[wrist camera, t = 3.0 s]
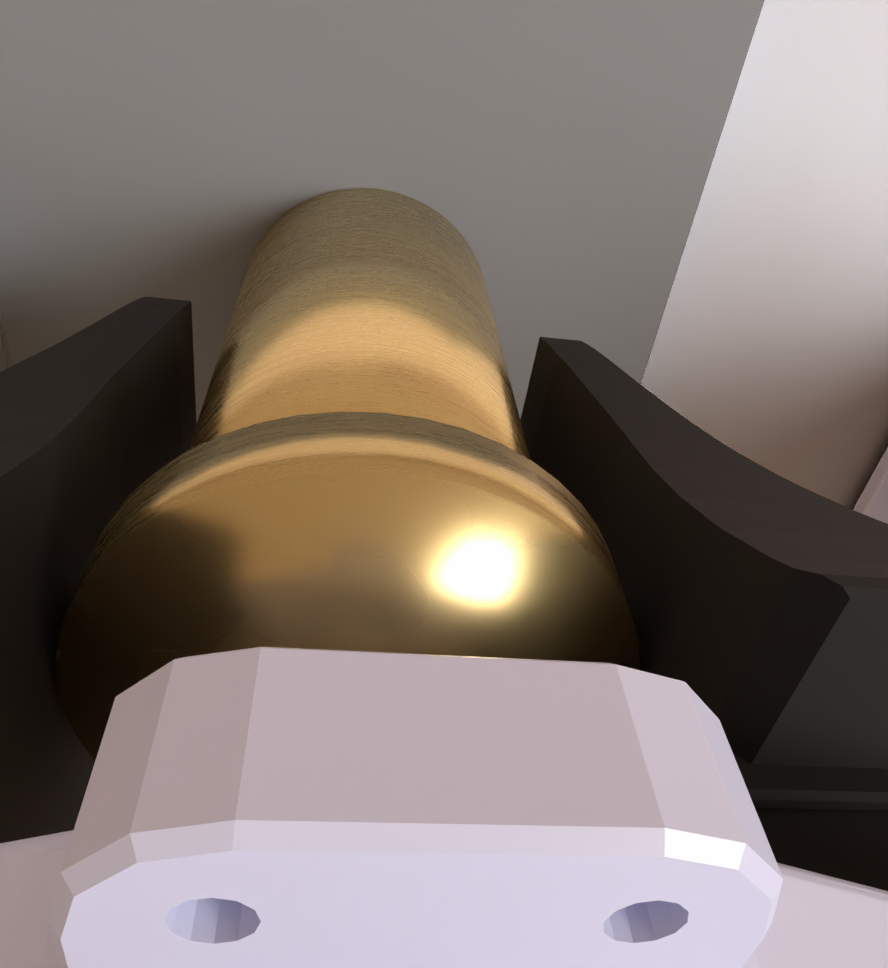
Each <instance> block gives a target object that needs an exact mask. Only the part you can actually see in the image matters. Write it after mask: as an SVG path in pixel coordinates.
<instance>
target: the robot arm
mask: <svg viewBox="0 0 888 968" xmlns="http://www.w3.org/2000/svg"><path fill="white" fill-rule="evenodd" d="M520 421H521V425H522V429H523V432H524V436H525V440H526V444H527V448H528V452H529V456H530V459H531V460H532V461H533V462H535V463H536V464H537V465H539V466H540V467H541V468H543V469H544V470H545V471H547V472H548V473H549V474H551V475H552V476H553V477H555V478H556V479H557V480H559V481H560V482H561V483H562V484H563V485H564V486H565V487H566V488H567V489H568V490H569V491H570V492H571V493H572V494H573V495H574V496H575V497H576V498H577V499H578V500H579V501H580V502H581V504H582V505H583V506H584V508H585V509H586V511H587V512H588V513H589V515H590V516H591V517H592V519H593V520H594V522H595V523H596V524H597V526H598V528H599V530H600V532H601V534H602V536H603V538H604V540H605V542H606V544H607V546H608V548H609V550H610V553H611V556H612V559H613V562H614V565H615V568H616V571H617V574H618V577H619V580H620V583H621V586H622V589H623V591H624V594H625V597H626V600H627V603H628V606H629V609H630V612H631V615H632V619H633V622H634V626H635V630H636V634H637V637H638V643H639V658H640V668H639V670H636V669H632V668H628V667H624V666H620V665H616V664H612V663H602V662H581V661H560V660H538V659H517V658H495V657H474V656H453V655H431V654H410V653H388V652H367V651H346V650H324V649H303V648H281V647H255V648H248V649H240V650H233V651H225V652H218V653H210V654H203V655H195V656H187V657H183V658H178V659H174V660H172V661H171V662H169V663H168V664H166V665H165V666H163V667H161V668H160V669H158V670H157V671H155V672H154V673H152V674H150V675H149V676H147V677H146V678H144V679H143V680H141V681H139V682H138V683H136V684H135V685H133V686H132V687H130V688H129V689H127V690H125V691H124V692H122V693H121V694H119V695H118V696H116V697H115V700H114V703H113V706H112V710H111V713H110V716H109V719H108V722H107V725H106V729H105V732H104V735H103V738H102V741H101V745H100V748H99V751H98V754H97V757H96V760H94V759H93V758H92V757H91V755H90V754H89V753H88V751H87V750H86V749H85V747H84V746H83V745H82V743H81V742H80V741H79V740H78V738H77V736H76V734H75V732H74V730H73V729H72V727H71V725H70V723H69V721H68V719H67V717H66V715H65V712H64V709H63V706H62V702H61V699H60V696H59V693H58V687H57V677H56V667H55V663H56V654H57V645H58V637H59V634H60V631H61V628H62V625H63V622H64V619H65V616H66V613H67V610H68V608H69V606H70V603H71V601H72V598H73V596H74V594H75V591H76V589H77V586H78V584H79V582H80V579H81V577H82V574H83V572H84V570H85V567H86V565H87V562H88V560H89V558H90V555H91V553H92V550H93V548H94V545H95V543H96V541H97V540H98V538H99V536H100V534H101V532H102V531H103V529H104V527H105V525H106V524H107V522H108V520H109V518H110V517H111V516H112V515H113V513H114V512H115V511H116V510H117V508H118V507H119V506H120V505H121V504H122V502H123V501H124V500H125V499H126V498H127V496H128V495H129V494H130V493H131V492H132V491H133V490H134V489H136V488H137V487H138V486H139V485H140V484H141V483H142V482H144V481H145V480H146V479H147V478H148V477H149V476H150V475H152V474H153V473H154V472H155V471H156V470H158V469H159V468H161V467H163V466H164V465H166V464H167V463H169V462H170V461H172V460H173V459H175V458H177V457H178V456H180V455H181V454H183V453H184V452H186V451H188V449H189V446H190V443H191V440H192V437H193V434H194V431H195V428H196V401H195V377H194V352H193V328H192V304H191V301H185V300H175V299H165V298H155V297H142V298H139V299H137V300H135V301H133V302H131V303H129V304H127V305H125V306H123V307H121V308H120V309H118V310H116V311H114V312H113V313H111V314H109V315H107V316H106V317H104V318H102V319H100V320H99V321H97V322H95V323H93V324H92V325H90V326H88V327H86V328H84V329H83V330H81V331H79V332H77V333H75V334H74V335H72V336H70V337H68V338H66V339H65V340H63V341H61V342H59V343H57V344H56V345H54V346H52V347H50V348H47V349H45V350H43V351H41V352H39V353H37V354H35V355H33V356H31V357H29V358H27V359H25V360H23V361H21V362H19V363H17V364H15V365H13V366H11V367H9V368H7V369H5V370H3V371H0V968H888V447H887V449H886V451H885V453H884V454H883V456H882V458H881V460H880V462H879V463H878V465H877V467H876V469H875V471H874V472H873V474H872V476H871V478H870V480H869V481H868V483H867V485H866V487H865V489H864V490H863V492H862V494H861V496H860V498H859V499H858V501H857V503H856V505H855V507H854V509H853V510H852V509H849V508H847V507H844V506H842V505H840V504H838V503H835V502H833V501H831V500H829V499H827V498H824V497H822V496H820V495H818V494H816V493H814V492H811V491H809V490H807V489H805V488H803V487H800V486H798V485H796V484H794V483H792V482H790V481H788V480H786V479H784V478H782V477H780V476H778V475H776V474H775V473H773V472H771V471H769V470H767V469H766V468H764V467H762V466H760V465H759V464H757V463H755V462H753V461H751V460H750V459H748V458H746V457H744V456H743V455H741V454H739V453H737V452H736V451H734V450H732V449H731V448H729V447H727V446H726V445H724V444H723V443H721V442H719V441H718V440H716V439H715V438H713V437H712V436H710V435H709V434H707V433H706V432H704V431H703V430H702V429H700V428H699V427H697V426H696V425H694V424H693V423H691V422H690V421H688V420H687V419H685V418H684V417H683V416H681V415H680V414H679V413H677V412H676V411H674V410H673V409H672V408H670V407H669V406H668V405H666V404H665V403H664V402H662V401H661V400H660V399H658V398H657V397H656V396H655V395H653V394H652V393H651V392H649V391H648V390H647V389H646V388H644V387H643V386H642V385H640V384H639V383H638V382H637V381H635V380H634V379H633V378H632V377H630V376H629V375H628V374H627V373H625V372H624V371H623V370H622V369H620V368H619V367H618V366H617V365H615V364H614V363H613V362H611V361H610V360H609V359H608V358H606V357H605V356H604V355H602V354H601V353H600V352H598V351H597V350H595V349H594V348H592V347H591V346H589V345H588V344H586V343H584V342H583V341H578V340H568V339H558V338H549V337H540V338H539V342H538V346H537V350H536V355H535V359H534V363H533V368H532V372H531V376H530V381H529V385H528V389H527V394H526V398H525V402H524V407H523V411H522V415H521V419H520Z"/></svg>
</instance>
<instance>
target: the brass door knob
mask: <svg viewBox="0 0 888 968" xmlns="http://www.w3.org/2000/svg"><path fill="white" fill-rule="evenodd" d="M255 647H281V648H303V649H324V650H346V651H367V652H388V653H410V654H431V655H453V656H474V657H495V658H517V659H538V660H560V661H581V662H602V663H612V664H616V665H620V666H624V667H628V668H632V669H636V670H639V668H640V658H639V643H638V637H637V634H636V630H635V626H634V622H633V619H632V615H631V612H630V609H629V606H628V603H627V600H626V597H625V594H624V591H623V589H622V586H621V583H620V580H619V577H618V574H617V571H616V568H615V565H614V562H613V559H612V556H611V553H610V550H609V548H608V546H607V544H606V542H605V540H604V538H603V536H602V534H601V532H600V530H599V528H598V526H597V524H596V523H595V522H594V520H593V519H592V517H591V516H590V515H589V513H588V512H587V511H586V509H585V508H584V506H583V505H582V504H581V502H580V501H579V500H578V499H577V498H576V497H575V496H574V495H573V494H572V493H571V492H570V491H569V490H568V489H567V488H566V487H565V486H564V485H563V484H562V483H561V482H560V481H559V480H557V479H556V478H555V477H553V476H552V475H551V474H549V473H548V472H547V471H545V470H544V469H543V468H541V467H540V466H539V465H537V464H536V463H535V462H533V461H532V460H531V459H530V456H529V452H528V448H527V444H526V440H525V436H524V432H523V429H522V425H521V421H520V417H519V413H518V409H517V405H516V401H515V398H514V394H513V390H512V386H511V382H510V378H509V374H508V370H507V367H506V363H505V359H504V355H503V351H502V347H501V343H500V339H499V336H498V332H497V328H496V324H495V320H494V316H493V312H492V308H491V305H490V301H489V297H488V293H487V289H486V285H485V281H484V278H483V275H482V271H481V268H480V265H479V263H478V261H477V258H476V256H475V254H474V252H473V250H472V249H471V247H470V246H469V244H468V243H467V241H466V240H465V238H464V237H463V235H462V234H461V233H460V232H459V231H458V230H457V229H456V228H455V226H454V225H453V224H452V223H450V222H449V221H448V220H447V219H446V218H445V217H444V216H442V215H441V214H440V213H438V212H437V211H435V210H434V209H432V208H431V207H429V206H428V205H426V204H424V203H422V202H420V201H418V200H416V199H414V198H412V197H409V196H406V195H403V194H400V193H397V192H393V191H388V190H383V189H377V188H347V189H340V190H335V191H330V192H326V193H323V194H320V195H318V196H315V197H312V198H310V199H308V200H306V201H304V202H302V203H300V204H298V205H296V206H295V207H293V208H292V209H290V210H289V211H288V212H286V213H285V214H283V215H282V216H281V217H280V218H279V219H278V220H277V221H276V222H275V223H274V224H273V225H272V226H271V227H270V228H269V229H268V230H267V232H266V233H265V234H264V236H263V237H262V238H261V239H260V241H259V243H258V245H257V246H256V248H255V250H254V252H253V254H252V256H251V259H250V262H249V264H248V267H247V270H246V273H245V276H244V279H243V282H242V285H241V288H240V292H239V295H238V298H237V301H236V304H235V307H234V310H233V313H232V316H231V319H230V322H229V326H228V329H227V332H226V335H225V338H224V341H223V344H222V347H221V350H220V353H219V357H218V360H217V363H216V366H215V369H214V372H213V375H212V378H211V381H210V384H209V387H208V391H207V394H206V397H205V400H204V403H203V406H202V409H201V412H200V415H199V418H198V421H197V425H196V428H195V431H194V434H193V437H192V440H191V443H190V446H189V449H188V451H186V452H184V453H183V454H181V455H180V456H178V457H177V458H175V459H173V460H172V461H170V462H169V463H167V464H166V465H164V466H163V467H161V468H159V469H158V470H156V471H155V472H154V473H153V474H152V475H150V476H149V477H148V478H147V479H146V480H145V481H144V482H142V483H141V484H140V485H139V486H138V487H137V488H136V489H134V490H133V491H132V492H131V493H130V494H129V495H128V496H127V498H126V499H125V500H124V501H123V502H122V504H121V505H120V506H119V507H118V508H117V510H116V511H115V512H114V513H113V515H112V516H111V517H110V518H109V520H108V522H107V524H106V525H105V527H104V529H103V531H102V532H101V534H100V536H99V538H98V540H97V541H96V543H95V545H94V548H93V550H92V553H91V555H90V558H89V560H88V562H87V565H86V567H85V570H84V572H83V574H82V577H81V579H80V582H79V584H78V586H77V589H76V591H75V594H74V596H73V598H72V601H71V603H70V606H69V608H68V610H67V613H66V616H65V619H64V622H63V625H62V628H61V631H60V634H59V637H58V645H57V654H56V663H55V667H56V677H57V687H58V693H59V696H60V699H61V702H62V706H63V709H64V712H65V715H66V717H67V719H68V721H69V723H70V725H71V727H72V729H73V730H74V732H75V734H76V736H77V738H78V740H79V741H80V742H81V743H82V745H83V746H84V747H85V749H86V750H87V751H88V753H89V754H90V755H91V757H92V758H93V759H94V760H96V757H97V754H98V751H99V748H100V745H101V741H102V738H103V735H104V732H105V729H106V725H107V722H108V719H109V716H110V713H111V710H112V706H113V703H114V700H115V697H116V696H118V695H119V694H121V693H122V692H124V691H125V690H127V689H129V688H130V687H132V686H133V685H135V684H136V683H138V682H139V681H141V680H143V679H144V678H146V677H147V676H149V675H150V674H152V673H154V672H155V671H157V670H158V669H160V668H161V667H163V666H165V665H166V664H168V663H169V662H171V661H172V660H174V659H178V658H183V657H187V656H195V655H203V654H210V653H218V652H225V651H233V650H240V649H248V648H255Z"/></svg>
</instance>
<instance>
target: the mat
mask: <svg viewBox="0 0 888 968" xmlns="http://www.w3.org/2000/svg"><path fill="white" fill-rule="evenodd" d="M763 3H764V0H0V308H1V313H2V318H3V324H4V329H5V334H6V340H7V345H8V350H9V355H10V361H11V366H13V365H15V364H17V363H19V362H21V361H23V360H25V359H27V358H29V357H31V356H33V355H35V354H37V353H39V352H41V351H43V350H45V349H47V348H50V347H52V346H54V345H56V344H57V343H59V342H61V341H63V340H65V339H66V338H68V337H70V336H72V335H74V334H75V333H77V332H79V331H81V330H83V329H84V328H86V327H88V326H90V325H92V324H93V323H95V322H97V321H99V320H100V319H102V318H104V317H106V316H107V315H109V314H111V313H113V312H114V311H116V310H118V309H120V308H121V307H123V306H125V305H127V304H129V303H131V302H133V301H135V300H137V299H139V298H142V297H155V298H165V299H175V300H185V301H191V304H192V328H193V352H194V377H195V401H196V425H197V421H198V418H199V415H200V412H201V409H202V406H203V403H204V400H205V397H206V394H207V391H208V387H209V384H210V381H211V378H212V375H213V372H214V369H215V366H216V363H217V360H218V357H219V353H220V350H221V347H222V344H223V341H224V338H225V335H226V332H227V329H228V326H229V322H230V319H231V316H232V313H233V310H234V307H235V304H236V301H237V298H238V295H239V292H240V288H241V285H242V282H243V279H244V276H245V273H246V270H247V267H248V264H249V262H250V259H251V256H252V254H253V252H254V250H255V248H256V246H257V245H258V243H259V241H260V239H261V238H262V237H263V236H264V234H265V233H266V232H267V230H268V229H269V228H270V227H271V226H272V225H273V224H274V223H275V222H276V221H277V220H278V219H279V218H280V217H281V216H282V215H283V214H285V213H286V212H288V211H289V210H290V209H292V208H293V207H295V206H296V205H298V204H300V203H302V202H304V201H306V200H308V199H310V198H312V197H315V196H318V195H320V194H323V193H326V192H330V191H335V190H340V189H347V188H377V189H383V190H388V191H393V192H397V193H400V194H403V195H406V196H409V197H412V198H414V199H416V200H418V201H420V202H422V203H424V204H426V205H428V206H429V207H431V208H432V209H434V210H435V211H437V212H438V213H440V214H441V215H442V216H444V217H445V218H446V219H447V220H448V221H449V222H450V223H452V224H453V225H454V226H455V228H456V229H457V230H458V231H459V232H460V233H461V234H462V235H463V237H464V238H465V240H466V241H467V243H468V244H469V246H470V247H471V249H472V250H473V252H474V254H475V256H476V258H477V261H478V263H479V265H480V268H481V271H482V275H483V278H484V281H485V285H486V289H487V293H488V297H489V301H490V305H491V308H492V312H493V316H494V320H495V324H496V328H497V332H498V336H499V339H500V343H501V347H502V351H503V355H504V359H505V363H506V367H507V370H508V374H509V378H510V382H511V386H512V390H513V394H514V398H515V401H516V405H517V409H518V413H519V417H520V419H521V415H522V411H523V407H524V402H525V398H526V394H527V389H528V385H529V381H530V376H531V372H532V368H533V363H534V359H535V355H536V350H537V346H538V342H539V338H540V337H549V338H558V339H568V340H578V341H583V342H584V343H586V344H588V345H589V346H591V347H592V348H594V349H595V350H597V351H598V352H600V353H601V354H602V355H604V356H605V357H606V358H608V359H609V360H610V361H611V362H613V363H614V364H615V365H617V366H618V367H619V368H620V369H622V370H623V371H624V372H625V373H627V374H628V375H629V376H630V377H632V378H633V379H634V380H635V381H637V382H638V383H639V384H641V380H642V377H643V374H644V371H645V368H646V365H647V362H648V359H649V356H650V353H651V350H652V346H653V343H654V340H655V337H656V334H657V331H658V328H659V325H660V322H661V319H662V315H663V312H664V309H665V306H666V303H667V300H668V297H669V294H670V291H671V288H672V285H673V281H674V278H675V275H676V272H677V269H678V266H679V263H680V260H681V257H682V254H683V250H684V247H685V244H686V241H687V238H688V235H689V232H690V229H691V226H692V223H693V220H694V216H695V213H696V210H697V207H698V204H699V201H700V198H701V195H702V192H703V189H704V185H705V182H706V179H707V176H708V173H709V170H710V167H711V164H712V161H713V158H714V155H715V151H716V148H717V145H718V142H719V139H720V136H721V133H722V130H723V127H724V124H725V120H726V117H727V114H728V111H729V108H730V105H731V102H732V99H733V96H734V93H735V90H736V86H737V83H738V80H739V77H740V74H741V71H742V68H743V65H744V62H745V59H746V55H747V52H748V49H749V46H750V43H751V40H752V37H753V34H754V31H755V28H756V25H757V21H758V18H759V15H760V12H761V9H762V6H763Z"/></svg>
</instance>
